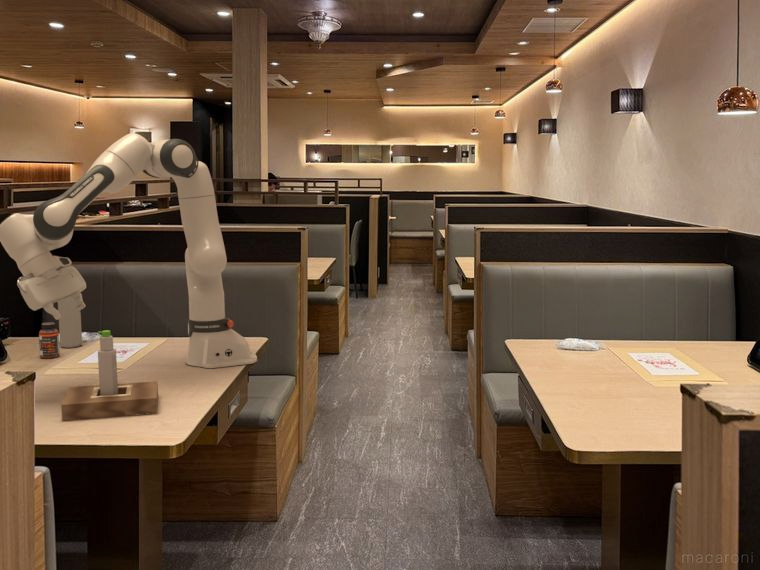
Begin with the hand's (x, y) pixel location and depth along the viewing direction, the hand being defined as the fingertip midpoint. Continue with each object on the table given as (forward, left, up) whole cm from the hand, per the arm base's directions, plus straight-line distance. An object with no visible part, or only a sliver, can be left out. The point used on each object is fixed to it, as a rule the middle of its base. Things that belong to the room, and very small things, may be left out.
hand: (71, 313), depth 198 cm
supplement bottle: (+13, -48, -23) cm, 54 cm away
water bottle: (+8, -64, -23) cm, 68 cm away
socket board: (-11, +15, -22) cm, 29 cm away
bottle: (-10, +15, -23) cm, 29 cm away
